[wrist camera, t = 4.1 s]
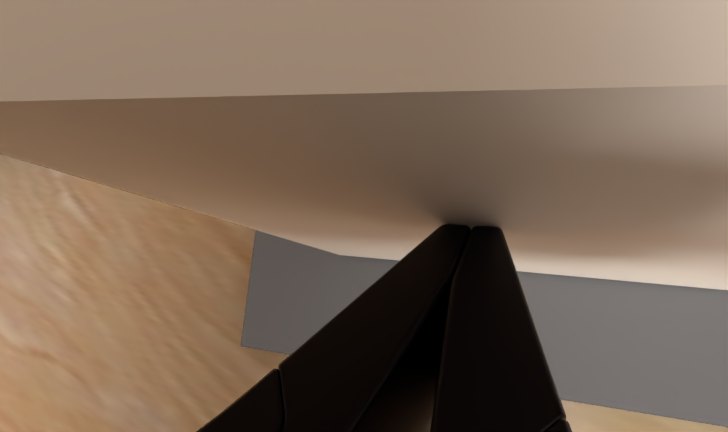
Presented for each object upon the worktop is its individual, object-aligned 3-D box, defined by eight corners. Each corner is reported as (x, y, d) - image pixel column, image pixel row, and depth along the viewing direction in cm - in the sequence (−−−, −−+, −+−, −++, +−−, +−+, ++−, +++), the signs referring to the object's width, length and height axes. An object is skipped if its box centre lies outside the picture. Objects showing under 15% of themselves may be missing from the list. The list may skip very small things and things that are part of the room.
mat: (898, 452, 12) (909, 456, 11) (247, 345, 17) (240, 346, 17) (891, -365, 14) (900, -383, 14) (321, -223, 20) (316, -234, 19)
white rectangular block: (741, 291, 13) (2091, 53, 1) (339, 255, 16) (-163, 105, 5) (744, 117, 13) (1710, -985, 2) (356, 119, 17) (-56, -283, 6)
